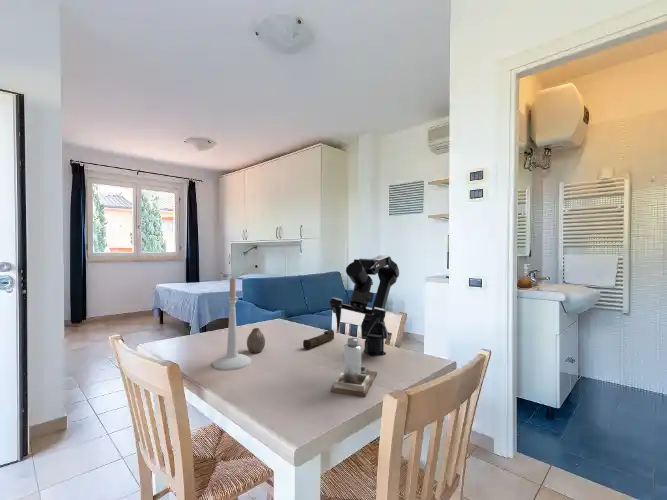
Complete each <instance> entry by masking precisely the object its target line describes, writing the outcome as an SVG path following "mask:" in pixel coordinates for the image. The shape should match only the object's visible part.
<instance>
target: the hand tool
mask: <svg viewBox="0 0 667 500" xmlns="http://www.w3.org/2000/svg"><path fill="white" fill-rule="evenodd" d="M334 339H335V331H334V330H333V329H329V330H325V331H324V332H323V333H322V334H319V335H317V336H314V337H311V338H308V339H304V340H303V341H302V344H303V345H302V346H303V349H306V350H311V349H313V348H314V347H316V346H318V345H321V344H323V343H330V342H332V341H333V340H334Z"/></svg>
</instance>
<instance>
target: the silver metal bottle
mask: <svg viewBox="0 0 667 500" xmlns="http://www.w3.org/2000/svg"><path fill="white" fill-rule="evenodd" d="M343 350H344V351H343V372H344V383H351V384H358V385H361V366H362V345H361V344H359V338H357V337H349V338H347V343H346V344H344V347H343Z"/></svg>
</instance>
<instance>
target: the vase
mask: <svg viewBox="0 0 667 500" xmlns="http://www.w3.org/2000/svg"><path fill="white" fill-rule="evenodd" d="M265 345H266V338H265V335H264V334H263V333H262V331H261V329H260V328H258V327H254V328H252V330H251V332H250V333H249V334H248V336H247V339H246V347H247V350H248V351H249V352H250V353H252V354H258V353H261V352H262V351H264V348H265Z"/></svg>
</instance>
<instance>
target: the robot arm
mask: <svg viewBox="0 0 667 500" xmlns="http://www.w3.org/2000/svg"><path fill="white" fill-rule="evenodd" d="M345 273H346V275H347V276H348V278H349V279H350V281H351V282H352V283H353V284H354V287H353V290H352V294H351V296H350V299H349V304H348V303H344V302H343V299H342V298H339V297H334V296H333V297H331V298H330V300H329V302H328V303H329V310H330V311H332V313H333V314H335V319H336V331H337V332H339V330H340V328H341V326H340V325H341V319H342V310H346V311H351V312H355V313H359V314H363V315H364V317H363V319H362V321H361V325H360V327H361V328H360V329H361V336H362V337H363V338H365V340H364V349H363V352H364V353H366V354H367V355H368V356H371V357H372V356H381V355H386V351H384V348H385V347H384V346H385V341H384V340H386V339H388V329H387V326H386V321H385V318H386V314H387V313H386V312H387V311H386V309H385V308H386V305H387V301H388V297H389V294H390V290H391V287H392V286H393V285H395V284H396V283H397V280H398V278H399V277H400V269H399V266H398V264H397V263H396V262H395V261H394V260H393V259H392V257H391V256H390V255H380V254H379V255H377V256H376V257H373V258H359V259H358V258H357V259H354V260H353V261H352V262H350V263H349V264H348V265H347V266H346V268H345ZM376 275H377V276H378V279H379V284H378V287H377V291H376V294H375V293H374V292H371V288H372V286H373V285H374V282H373V279H372V278H371V277H372V276H376ZM374 294H375V295H374ZM374 296H375V297H374ZM373 299H374V301H373ZM368 303H371V304H372V307H371V308H367V306H368Z"/></svg>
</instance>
